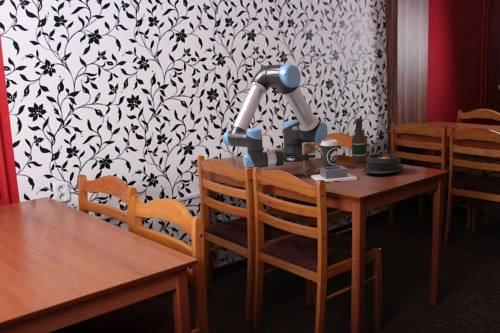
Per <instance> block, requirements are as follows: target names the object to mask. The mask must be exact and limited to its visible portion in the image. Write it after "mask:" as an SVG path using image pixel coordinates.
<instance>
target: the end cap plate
mask: <svg viewBox="0 0 500 333" xmlns="http://www.w3.org/2000/svg"><path fill="white" fill-rule="evenodd" d="M310 177H311V179H313V180H314V181H316V182H318V181H317V180H324V181H325V182H331V183H334V182H333V181H341V182H347V181H348V182H349V181H357V180H358V177H357V176H355V175H353V174H350V173H349V172H348V168H347V167H345V166H343V165H336V166H332V167H324V166H322V167H319V174H315V175H310Z"/></svg>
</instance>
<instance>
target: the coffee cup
mask: <svg viewBox="0 0 500 333" xmlns="http://www.w3.org/2000/svg"><path fill="white" fill-rule="evenodd" d="M319 145H320V148H321V158H322V164H323V165H322V167H332V166H338V165H337V162H338V149H339V148H338V147H339V146H340V145H339V142H338V140H337V139H325V140H322V142H321V143H319Z"/></svg>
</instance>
